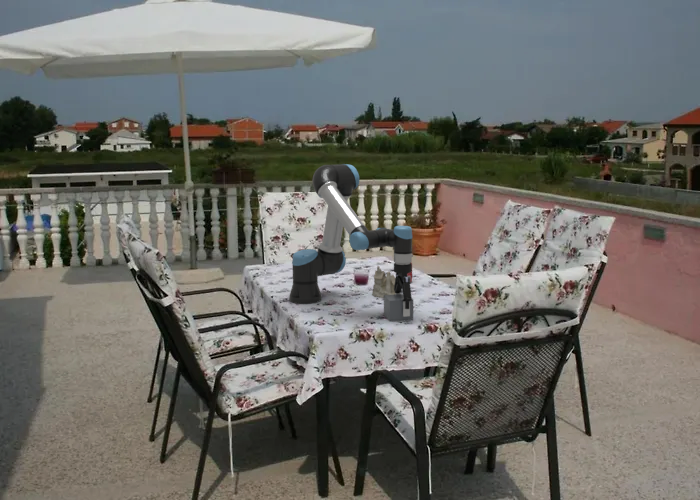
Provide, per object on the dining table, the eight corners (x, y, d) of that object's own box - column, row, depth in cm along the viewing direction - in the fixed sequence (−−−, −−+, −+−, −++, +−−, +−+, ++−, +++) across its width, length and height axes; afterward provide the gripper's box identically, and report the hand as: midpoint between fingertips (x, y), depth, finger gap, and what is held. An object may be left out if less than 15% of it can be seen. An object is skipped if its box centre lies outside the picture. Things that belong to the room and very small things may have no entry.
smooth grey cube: (389, 321, 277) (389, 300, 275) (383, 315, 287) (383, 295, 285) (413, 320, 279) (413, 299, 277) (406, 313, 288) (406, 294, 287)
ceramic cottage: (392, 300, 313) (392, 268, 311) (365, 296, 323) (365, 265, 322) (411, 296, 325) (412, 265, 323) (384, 292, 335) (385, 262, 334)
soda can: (403, 280, 355) (403, 258, 353) (414, 282, 351) (415, 260, 349) (395, 282, 350) (396, 260, 348) (407, 284, 346) (407, 262, 344)
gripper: (419, 268, 268) (419, 319, 271) (403, 257, 292) (403, 304, 295) (401, 268, 266) (401, 320, 270) (387, 258, 291) (386, 305, 294)
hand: (402, 312), depth 283 cm, fingers open, 13 cm apart
